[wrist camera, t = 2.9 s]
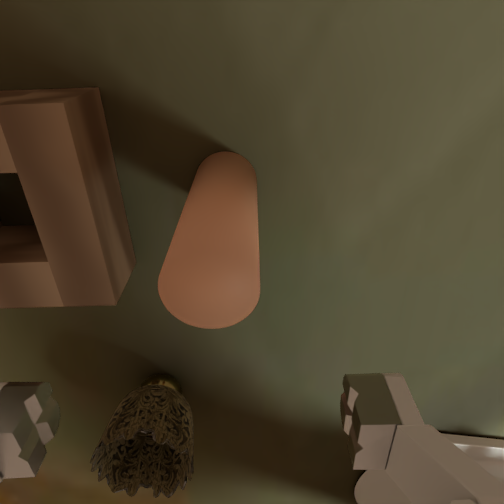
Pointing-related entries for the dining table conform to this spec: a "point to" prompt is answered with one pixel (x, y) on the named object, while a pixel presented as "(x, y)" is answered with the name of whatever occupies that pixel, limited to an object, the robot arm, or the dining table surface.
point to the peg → (215, 247)
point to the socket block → (62, 202)
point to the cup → (148, 440)
